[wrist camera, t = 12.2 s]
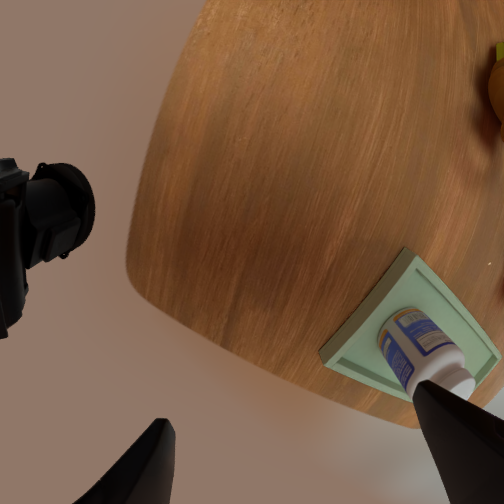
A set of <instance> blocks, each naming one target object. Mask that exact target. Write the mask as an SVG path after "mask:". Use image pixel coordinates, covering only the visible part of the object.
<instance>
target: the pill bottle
mask: <svg viewBox="0 0 504 504" xmlns="http://www.w3.org/2000/svg"><path fill="white" fill-rule="evenodd" d="M378 347H379V350H380V352H381V354H382V355H383V357H384V358H385V360H386V361H387V363H388V364H389V366H390V368H391V369H392V371H393V372H394V374H395V375H396V377H397V379H398V380H399V382H400V383H401V385H402V387H403V388H404V390H405V391H406V393H407V395H408V396H409V398H410V399H411V400H412V397H413V394H414V391H415V388H416V386H417V384H418V383H419V382H420V381H423V380H426V379H428V380H430V381H432V382H434V383H436V384H438V385H439V386H441V387H443V388H445V389H447V390H448V391H450V392H452V393H454V394H456V395H457V396H459V397H461V398H463V399H465V400H467V399H468V398H469V397H470V395H471V394H472V392H473V390H474V388H475V384H476V382H475V379H474V378H473V376H472V375H471V374H470V372H469V371H468V370H467V369H465V368H464V365H465V357H464V354H463V352H462V351H461V349H460V348H459V347H458V346H457V345H456V344H455V343H454V342H453V341H452V340H451V339H450V338H449V337H448V336H447V335H446V334H445V333H444V332H443V331H442V330H441V329H440V328H439V327H438V326H437V325H436V324H435V323H434V322H433V321H432V320H431V319H430V318H429V317H428V316H427V315H426V314H425V313H424V312H422V311H421V310H419V309H417V308H412V307H411V308H405V309H402V310H400V311H398V312H397V313H395V314H394V315H393V316H391V317H390V318H389V319H388V320H387V321H386V323H385V324H384V325H383V327H382V329H381V331H380V333H379V336H378Z"/></svg>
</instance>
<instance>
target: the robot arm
mask: <svg viewBox="0 0 504 504" xmlns="http://www.w3.org/2000/svg"><path fill="white" fill-rule="evenodd" d="M42 167H43V169H42ZM82 196H84V198H85V200H84V201H83V199H82ZM89 199H90V198H89V194H88V193H87V192H86V191H84V190H83V189H81V188H80V187H78V186H77V185H76V184H74V183H73V182H71V181H70V180H68V179H67V178H66V177H64V176H63V175H61V174H60V173H59V172H57V171H56V170H55V169H53V168H52V167H50V166H49V165H48V164H46V163H44V162H42V163H39V164H38V166H37V169H36V172H35V174H34V177H33V179H30V180H29V172H25V171H22V170H20V169H18V167H17V165H16V162H15V160H14V158H3V159H0V339H4V338H7V337H8V332H7V329H8V328H9V327H11V326H12V325H14V324H15V323H16V322H17V321H18V320H19V319H20V318H21V317H22V310H23V307H24V304H25V296H26V294H27V293H28V284H27V281H26V269H30V268H32V267H33V266H35V265H36V264H38V263H39V262H41V261H44V262H49V261H51V260H52V259H54V258H55V257H57V256H58V257H60V258H61V259H66V258H67V257H68V256H69V253H70V250H71V248H72V247H73V246H74V244H75V241H76V239H77V236H78V233H79V230H80V228H81V225H82V217H83V214H84V212H85V209H86V207H87V205H88V202H89ZM63 253H64V254H63ZM412 401H413V404H414V407H415V410H416V414H417V417H418V420H419V423H420V426H421V430H422V432H423V435H424V437H425V440H426V442H427V444H428V447H429V449H430V451H431V454H432V456H433V459H434V461H435V464H436V466H437V468H438V471H439V474H440V476H441V479H442V482H443V484H444V487H445V490H446V493H447V496H448V498H449V501H450V504H504V420H502V419H500V418H498V417H496V416H494V415H493V414H491V413H489V412H487V411H485V410H483V409H481V408H479V407H478V406H476V405H474V404H472V403H470V402H468V401H467V400H465V399H463V398H461V397H459V396H457V395H456V394H454V393H452V392H450V391H448V390H447V389H445V388H443V387H441V386H439V385H438V384H436V383H434V382H432V381H430V380H428V379H426V380H423V381H420V382H419V383H418V384H417V386H416V388H415V391H414V394H413V397H412ZM174 464H175V431H174V429H173V427H172V425H171V423H170V422H169V420H168V419H166V418H156V419H155V420H154V421H153V422H152V423H151V425H150V426H149V427H148V428H147V429H146V430H145V431H144V432H143V433H142V435H141V436H140V437H139V438H138V439H137V440H136V441H135V442H134V443H133V444H132V445H131V447H130V448H129V449H128V450H127V451H126V452H125V453H124V454H123V455H122V456H121V457H120V459H119V460H118V461H117V462H116V463H115V464H114V465H113V466H112V467H111V468H110V469H109V470H108V471H107V472H106V473H105V474H104V475H103V476H102V477H101V478H100V480H98V481H97V482H96V483H95V485H93V486H92V487H91V488H90V489H89V490H88V491H87V492H86V493H85V494H84V495H83V496H81V497H80V498H79V499H78V500H76V501H75V502H74V503H72V504H169V503H170V495H171V489H172V482H173V476H174Z"/></svg>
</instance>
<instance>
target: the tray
mask: <svg viewBox="0 0 504 504" xmlns="http://www.w3.org/2000/svg"><path fill="white" fill-rule="evenodd" d="M411 307H412V308H417V309H419V310H421V311H422V312H424V313H425V314H426V315H427V316H428V317H429V318H430V319H431V320H432V321H433V322H434V323H435V324H436V325H437V326H438V327H439V328H440V329H441V330H442V331H443V332H444V333H445V334H446V335H447V336H448V337H449V338H450V339H451V340H452V341H453V342H454V343H455V344H456V345H457V346H458V347H459V348H460V349H461V351H462V352H463V354H464V357H465V365H464V368H465V369H467V370H468V371H469V372H470V374H471V375H472V376H473V378H474V379H475V382H476V384H475V388H474V390H475V389H476V388H477V387H478V386H479V385H480V384H481V382H482V381H483V380H484V379H485V378H486V377H487V375H488V374H489V373H490V372H491V371H492V369H493V368H494V367H495V366H496V364H497V363H498V362H499V361H500V359H501V358H502V355H501V354H500V352H499V351H498V349H497V348H496V347H495V345H494V344H493V342H492V341H491V340H490V338H489V337H488V336H487V334H486V333H485V332H484V330H483V329H482V328H481V326H480V325H479V324H478V323H477V321H476V320H475V319H474V318H473V316H472V315H471V314H470V313H469V311H468V310H467V309H466V308H465V307H464V305H463V304H462V303H461V302H460V301H459V299H458V298H457V297H456V296H455V295H454V294H453V293H452V291H451V290H450V289H449V288H448V287H447V286H446V285H445V284H444V282H443V281H442V280H441V279H440V278H439V277H438V276H437V275H436V274H435V273H434V272H433V271H432V269H431V268H430V267H429V266H428V265H427V264H426V263H425V262H424V261H423V260H422V259H421V258H420V257H419V256H418V255H417V254H415V253H414V252H412V251H410V250H409V249H407V248H406V247H404V248H403V250H402V251H401V253H400V254H399V255H398V257H397V258H396V260H395V261H394V262H393V264H392V265H391V266H390V268H389V269H388V270H387V272H386V273H385V274H384V276H383V277H382V278H381V279H380V281H379V282H378V283H377V285H376V286H375V287H374V288H373V290H372V291H371V292H370V293H369V295H368V296H367V297H366V298H365V300H364V301H363V302H362V303H361V304H360V306H359V307H358V308H357V309H356V310H355V311H354V313H353V314H352V315H351V316H350V317H349V318H348V320H347V321H346V322H345V323H344V324H343V325H342V326H341V328H340V329H339V330H338V331H337V332H336V333H335V334H334V335H333V336H332V338H331V339H330V340H329V341H328V342H327V343H326V344H325V345H324V346H323V347H322V348H321V349H320V350H319V354H320V357H321V360H322V363H323V365H324V366H325V367H328V368H330V369H332V370H334V371H337V372H339V373H341V374H343V375H345V376H348V377H350V378H352V379H355V380H357V381H359V382H362V383H364V384H366V385H369V386H371V387H373V388H376V389H378V390H381V391H383V392H386V393H388V394H391V395H393V396H396V397H398V398H401V399H403V400H406V401H409V402H411V403H413V401H412V400H411V399H410V398H409V396H408V395H407V393H406V391H405V390H404V388H403V387H402V385H401V383H400V382H399V380H398V379H397V377H396V375H395V374H394V372H393V371H392V369H391V368H390V366H389V364H388V363H387V361H386V360H385V358H384V357H383V355H382V354H381V352H380V350H379V347H378V336H379V333H380V331H381V329H382V327H383V325H384V324H385V323H386V321H387V320H388V319H389V318H390V317H391V316H393V315H394V314H395V313H397V312H398V311H400V310H402V309H405V308H411ZM474 390H473V391H474Z"/></svg>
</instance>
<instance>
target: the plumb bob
mask: <svg viewBox="0 0 504 504" xmlns="http://www.w3.org/2000/svg"><path fill="white" fill-rule="evenodd" d="M496 52H497V62H496V63H495V64H494V66H493V68H492V71H491V76H490V79H489V82H488V95H489V99H490V102H491V105H492V107H493V109H494V112H495V114H496V115H497V117H498V119H499V120H500V122H501V123H502V126H501V130H500V133H501V138H502V140H503V142H504V42H502V43H498V44H496Z"/></svg>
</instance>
